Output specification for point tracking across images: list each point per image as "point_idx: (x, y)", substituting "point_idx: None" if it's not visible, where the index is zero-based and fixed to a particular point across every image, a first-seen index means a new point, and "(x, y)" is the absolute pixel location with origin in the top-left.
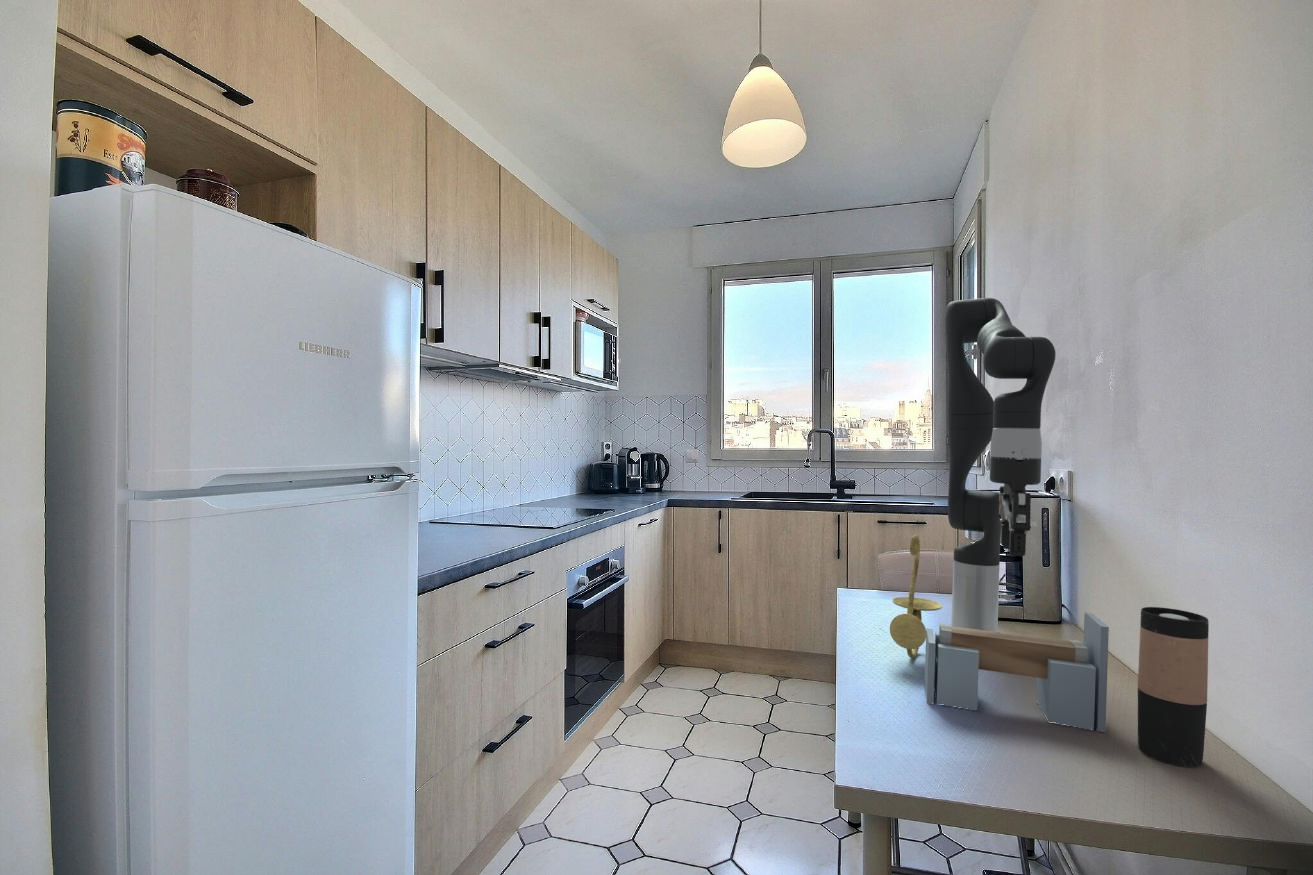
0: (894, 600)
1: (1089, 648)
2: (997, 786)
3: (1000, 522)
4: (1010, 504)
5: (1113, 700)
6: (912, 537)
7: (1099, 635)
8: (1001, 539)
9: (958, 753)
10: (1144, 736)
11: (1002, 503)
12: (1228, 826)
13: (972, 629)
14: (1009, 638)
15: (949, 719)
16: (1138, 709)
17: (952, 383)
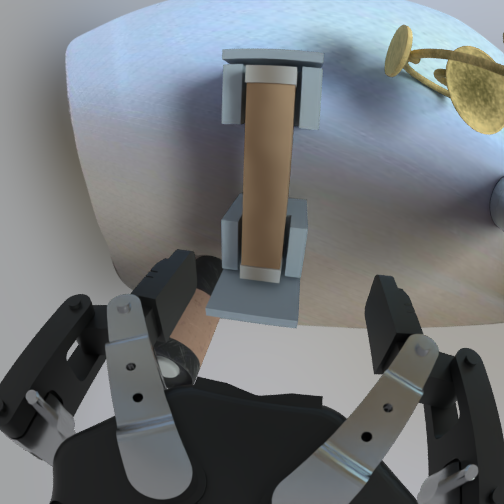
0: (483, 55)
1: (268, 285)
2: (93, 128)
3: (429, 339)
4: (110, 420)
5: (338, 283)
6: None
7: (215, 298)
8: (386, 286)
9: (128, 98)
10: (197, 263)
11: (167, 428)
12: (118, 257)
13: (287, 123)
14: (252, 178)
15: (203, 88)
16: (200, 275)
17: None
